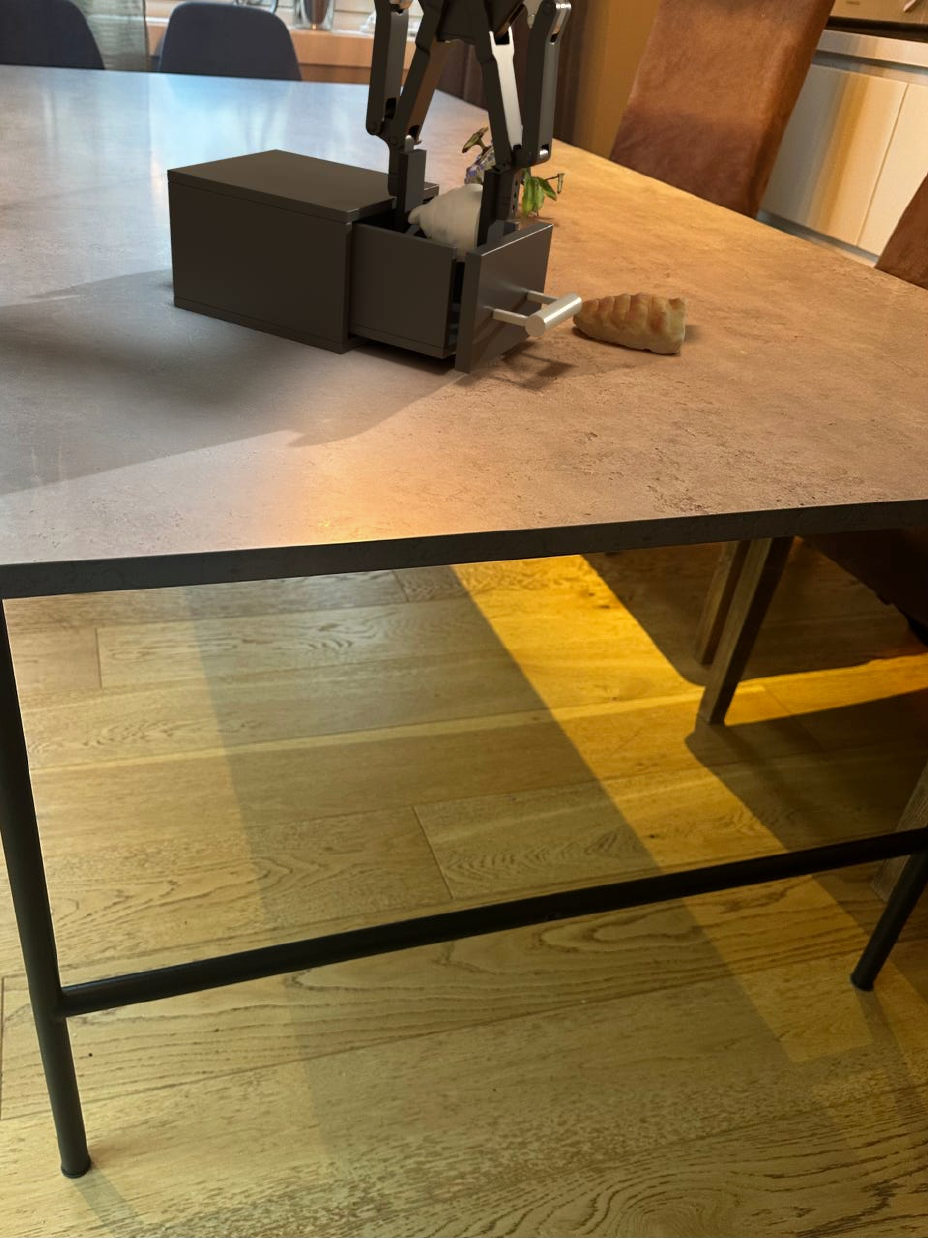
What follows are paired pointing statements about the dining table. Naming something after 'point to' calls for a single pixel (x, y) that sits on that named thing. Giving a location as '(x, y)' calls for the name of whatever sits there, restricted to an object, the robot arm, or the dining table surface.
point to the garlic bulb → (452, 218)
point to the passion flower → (532, 184)
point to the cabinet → (272, 241)
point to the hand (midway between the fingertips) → (446, 253)
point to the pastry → (635, 321)
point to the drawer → (452, 291)
